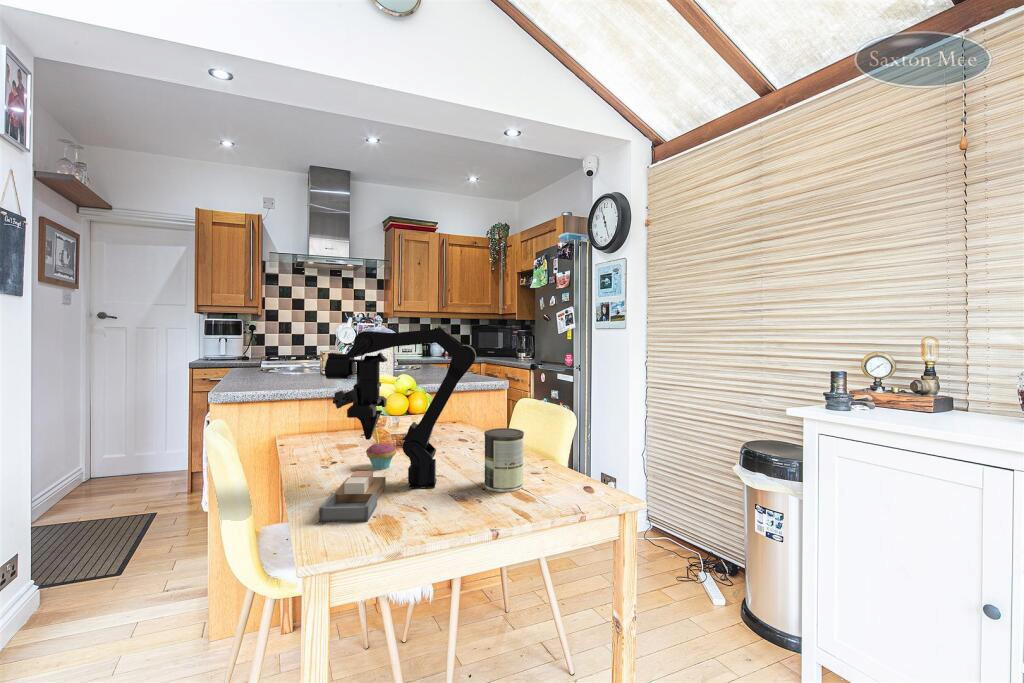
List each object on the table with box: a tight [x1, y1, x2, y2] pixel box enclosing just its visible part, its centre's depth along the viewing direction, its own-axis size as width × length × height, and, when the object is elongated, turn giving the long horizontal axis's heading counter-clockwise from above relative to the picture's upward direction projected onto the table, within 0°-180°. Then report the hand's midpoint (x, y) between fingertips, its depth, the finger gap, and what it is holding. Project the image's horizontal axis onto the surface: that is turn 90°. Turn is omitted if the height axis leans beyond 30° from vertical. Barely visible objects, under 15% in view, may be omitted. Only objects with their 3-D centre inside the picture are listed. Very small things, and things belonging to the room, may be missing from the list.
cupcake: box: [365, 426, 397, 470], centre depth 142 cm, size 9×8×12 cm
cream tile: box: [343, 476, 369, 494], centre depth 114 cm, size 4×4×2 cm
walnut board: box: [334, 476, 387, 503], centre depth 118 cm, size 10×13×2 cm
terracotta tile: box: [349, 470, 374, 486], centre depth 119 cm, size 4×4×2 cm
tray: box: [318, 492, 378, 524], centre depth 106 cm, size 10×10×3 cm
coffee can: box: [483, 427, 525, 493], centre depth 126 cm, size 10×10×14 cm
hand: (368, 439), depth 126 cm, fingers closed
